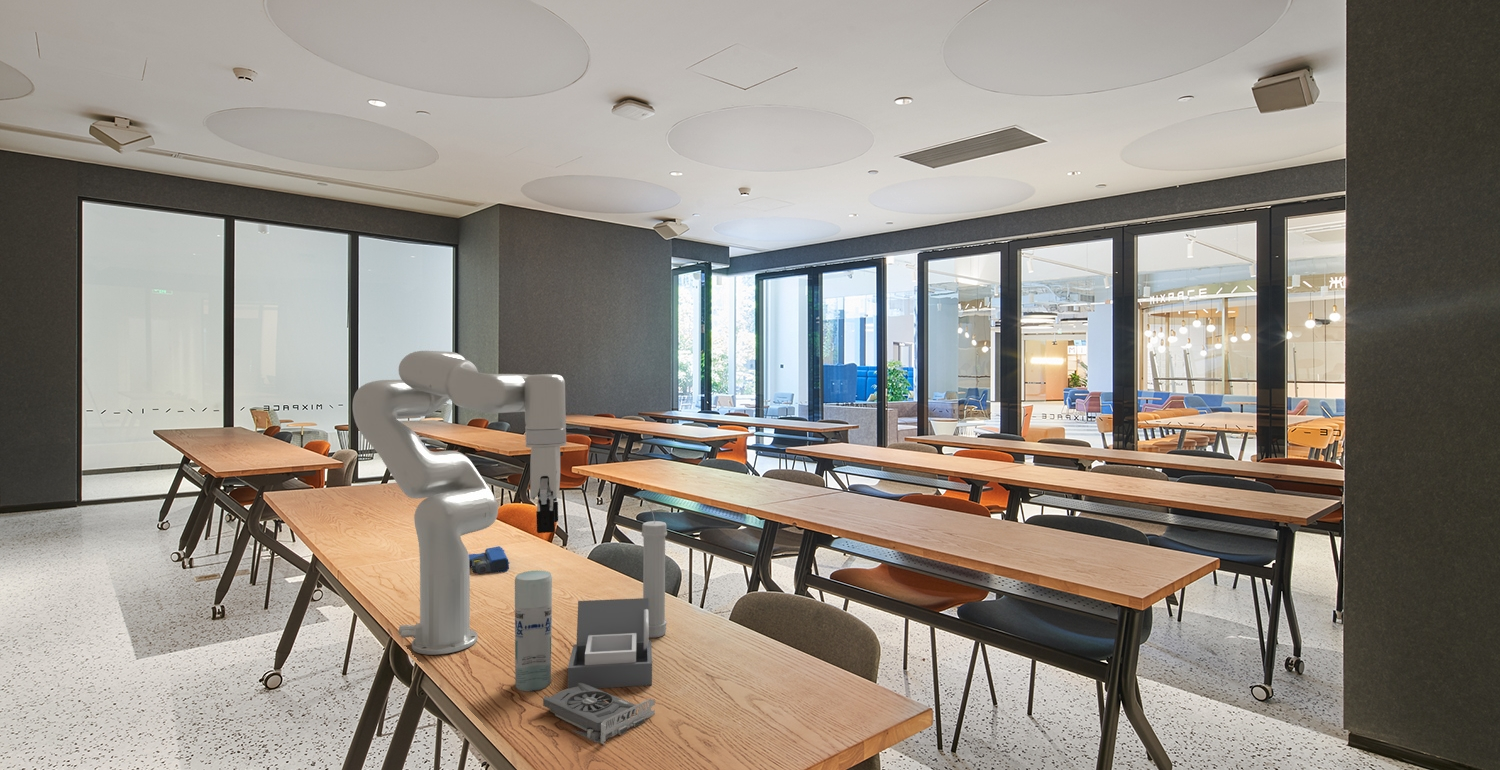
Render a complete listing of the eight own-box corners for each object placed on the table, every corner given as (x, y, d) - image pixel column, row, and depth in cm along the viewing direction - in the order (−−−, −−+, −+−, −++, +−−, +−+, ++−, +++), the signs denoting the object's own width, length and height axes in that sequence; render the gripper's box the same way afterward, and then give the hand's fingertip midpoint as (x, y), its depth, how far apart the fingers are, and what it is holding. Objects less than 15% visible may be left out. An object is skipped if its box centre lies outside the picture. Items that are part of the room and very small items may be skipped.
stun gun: (452, 567, 195) (509, 556, 201) (449, 554, 209) (502, 544, 215) (454, 582, 195) (510, 571, 202) (451, 568, 209) (504, 557, 216)
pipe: (661, 639, 151) (662, 499, 150) (634, 637, 152) (634, 498, 152) (669, 630, 156) (670, 495, 156) (643, 627, 158) (643, 494, 157)
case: (567, 690, 127) (567, 628, 127) (575, 654, 143) (575, 599, 142) (651, 684, 129) (652, 624, 129) (650, 650, 145) (650, 596, 145)
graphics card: (659, 698, 118) (603, 724, 108) (659, 721, 117) (603, 749, 108) (593, 672, 128) (537, 694, 118) (592, 693, 128) (536, 717, 118)
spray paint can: (514, 679, 131) (514, 572, 131) (550, 674, 133) (550, 569, 133) (515, 694, 125) (515, 581, 125) (553, 688, 127) (553, 578, 127)
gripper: (530, 435, 143) (532, 519, 143) (520, 442, 126) (522, 538, 126) (568, 434, 145) (570, 517, 145) (563, 441, 128) (565, 535, 128)
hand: (548, 527), depth 136 cm, fingers open, 9 cm apart
